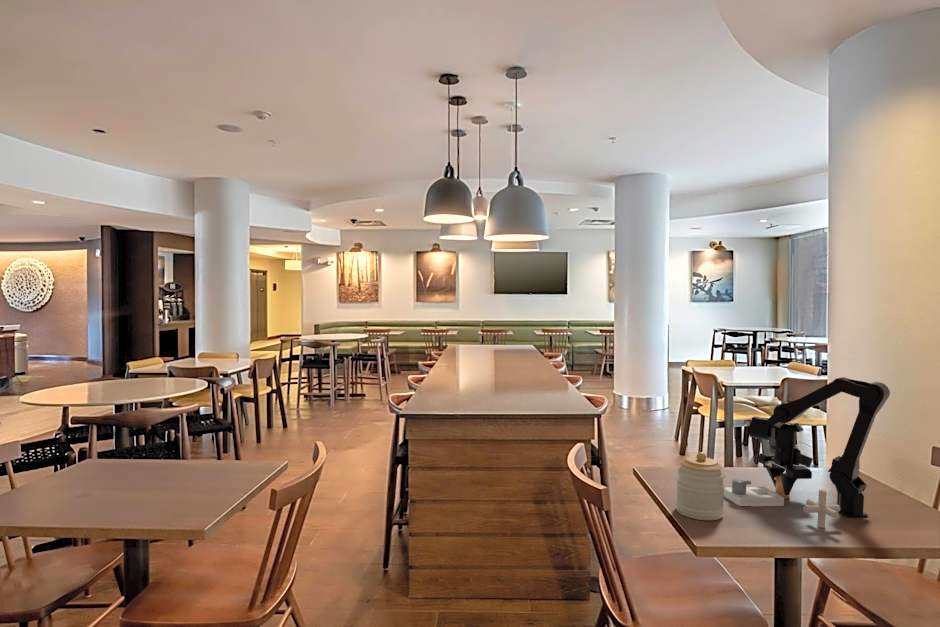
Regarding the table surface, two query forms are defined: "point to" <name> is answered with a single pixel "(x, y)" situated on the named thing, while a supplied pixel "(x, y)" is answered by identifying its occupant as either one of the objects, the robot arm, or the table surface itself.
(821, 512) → the pipe connector
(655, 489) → the table surface
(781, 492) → the orange rounded tapered piece
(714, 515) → the jar
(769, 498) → the housing
